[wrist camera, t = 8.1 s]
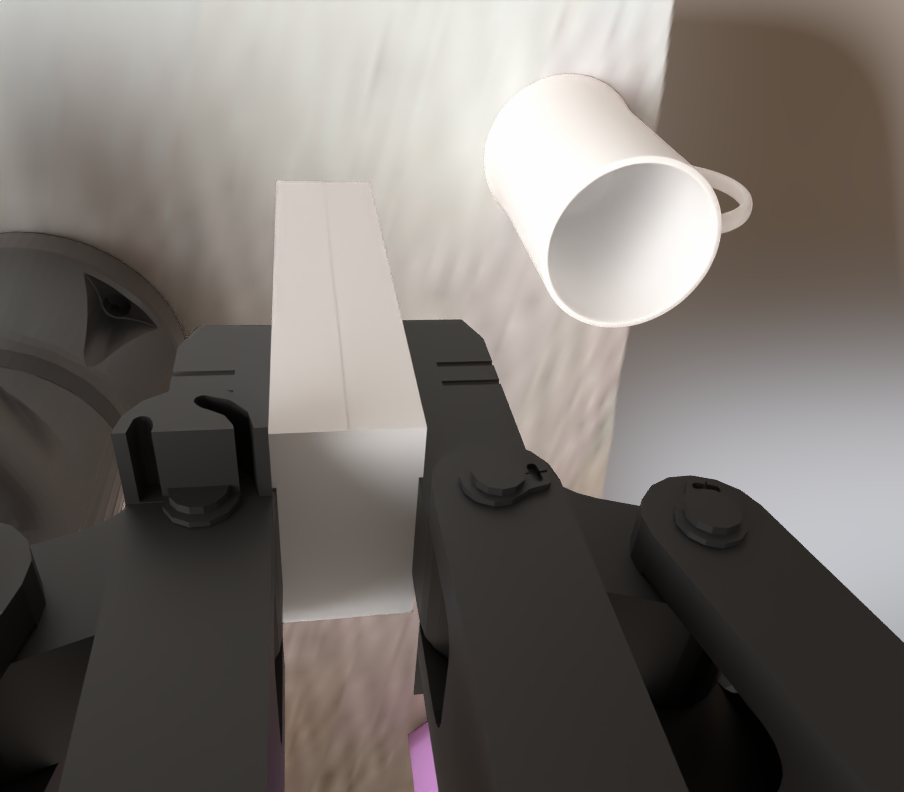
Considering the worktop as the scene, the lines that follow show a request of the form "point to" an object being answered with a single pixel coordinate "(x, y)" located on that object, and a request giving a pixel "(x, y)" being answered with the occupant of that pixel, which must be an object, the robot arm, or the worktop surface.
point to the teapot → (422, 760)
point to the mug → (605, 202)
